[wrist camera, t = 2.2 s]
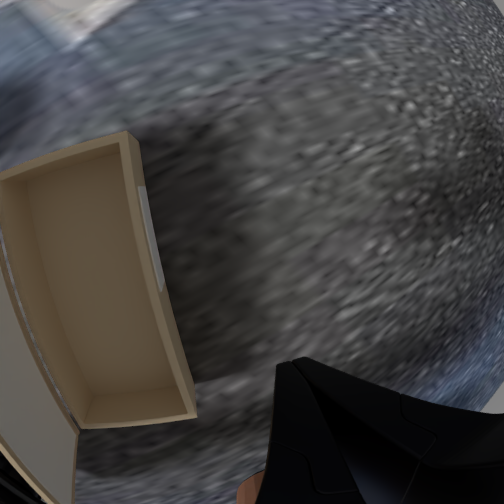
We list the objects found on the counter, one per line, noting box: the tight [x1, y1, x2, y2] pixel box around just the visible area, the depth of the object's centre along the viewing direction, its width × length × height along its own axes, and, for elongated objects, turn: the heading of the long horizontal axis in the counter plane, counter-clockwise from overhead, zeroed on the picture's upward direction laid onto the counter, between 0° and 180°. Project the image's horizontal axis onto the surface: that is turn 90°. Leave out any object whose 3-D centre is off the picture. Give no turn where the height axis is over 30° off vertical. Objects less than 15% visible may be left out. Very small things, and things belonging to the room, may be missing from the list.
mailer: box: [0, 131, 197, 429], centre depth 17 cm, size 18×9×4 cm, turn 9°
